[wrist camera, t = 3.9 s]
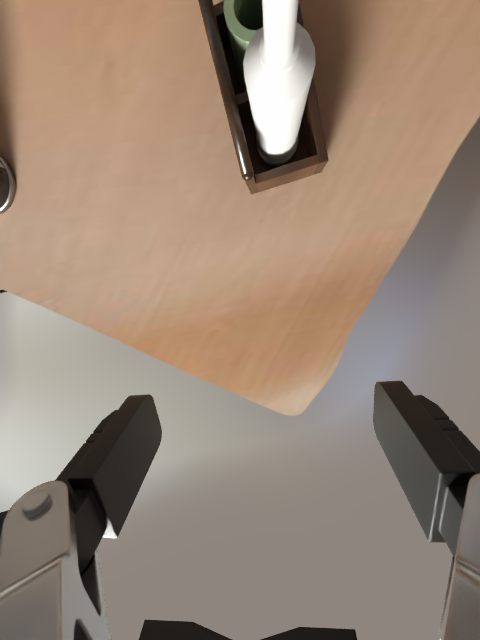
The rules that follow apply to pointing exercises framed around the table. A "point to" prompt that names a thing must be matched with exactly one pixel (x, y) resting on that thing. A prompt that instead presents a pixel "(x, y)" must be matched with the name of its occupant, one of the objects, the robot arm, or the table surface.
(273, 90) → the bottle
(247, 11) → the jar
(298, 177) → the tray
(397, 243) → the table surface
